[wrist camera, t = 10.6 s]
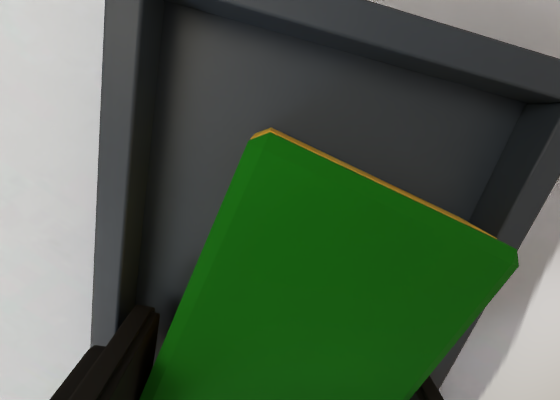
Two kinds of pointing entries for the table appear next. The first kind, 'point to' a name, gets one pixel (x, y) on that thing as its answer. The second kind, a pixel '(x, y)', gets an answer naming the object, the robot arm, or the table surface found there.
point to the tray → (303, 126)
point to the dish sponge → (323, 286)
